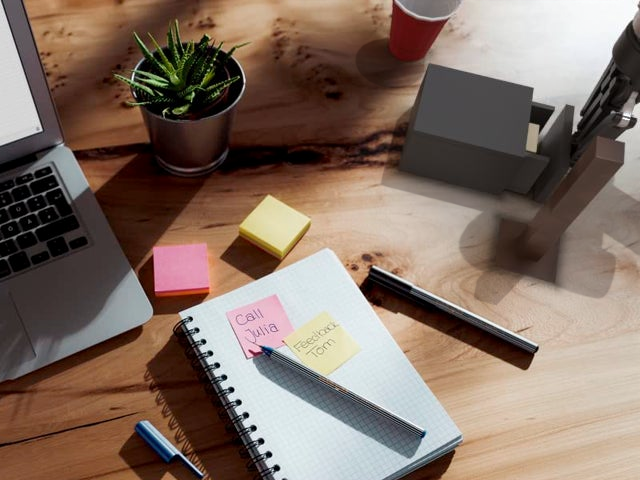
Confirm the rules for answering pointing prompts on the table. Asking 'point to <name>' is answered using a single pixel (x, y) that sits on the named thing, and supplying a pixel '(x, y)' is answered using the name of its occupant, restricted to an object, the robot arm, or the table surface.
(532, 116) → the drawer
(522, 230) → the stand
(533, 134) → the block
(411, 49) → the plastic cup
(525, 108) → the cabinet
